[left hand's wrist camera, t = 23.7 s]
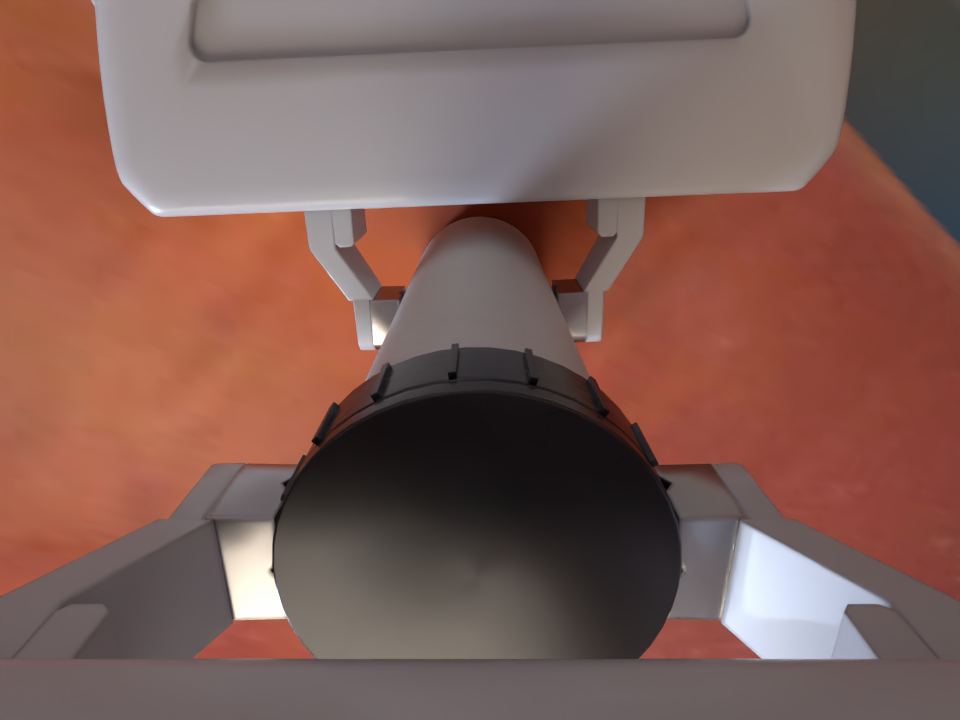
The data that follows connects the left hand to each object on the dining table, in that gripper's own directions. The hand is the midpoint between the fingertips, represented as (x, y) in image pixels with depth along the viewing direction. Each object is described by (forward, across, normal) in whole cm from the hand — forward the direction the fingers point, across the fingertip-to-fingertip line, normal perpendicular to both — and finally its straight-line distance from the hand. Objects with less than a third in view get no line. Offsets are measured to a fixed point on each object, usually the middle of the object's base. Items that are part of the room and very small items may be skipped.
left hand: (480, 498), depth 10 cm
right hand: (+10, 0, -1) cm, 11 cm away
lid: (-2, 0, 0) cm, 2 cm away
